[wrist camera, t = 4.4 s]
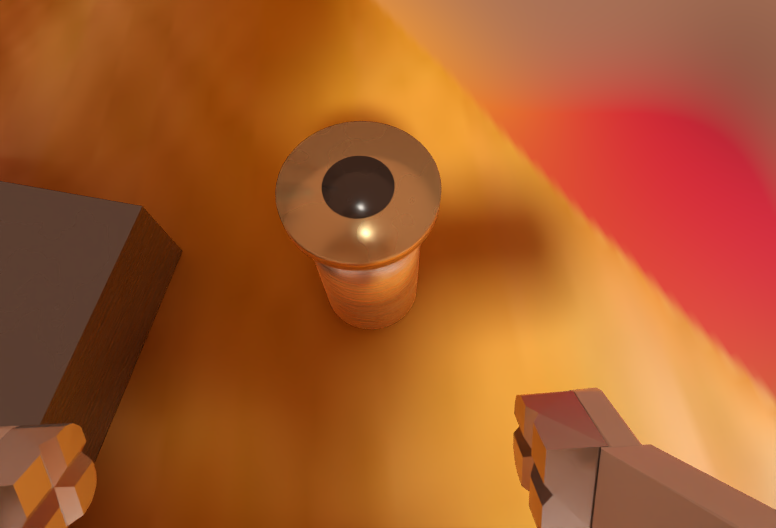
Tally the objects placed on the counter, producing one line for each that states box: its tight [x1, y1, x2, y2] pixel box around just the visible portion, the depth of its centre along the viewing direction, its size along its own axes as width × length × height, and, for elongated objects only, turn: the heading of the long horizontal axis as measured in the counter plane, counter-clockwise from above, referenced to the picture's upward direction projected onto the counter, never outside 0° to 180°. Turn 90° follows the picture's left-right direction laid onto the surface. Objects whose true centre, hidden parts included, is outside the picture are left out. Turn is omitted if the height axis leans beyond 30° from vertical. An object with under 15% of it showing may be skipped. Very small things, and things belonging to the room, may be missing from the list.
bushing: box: [275, 121, 441, 329], centre depth 19 cm, size 5×5×8 cm
